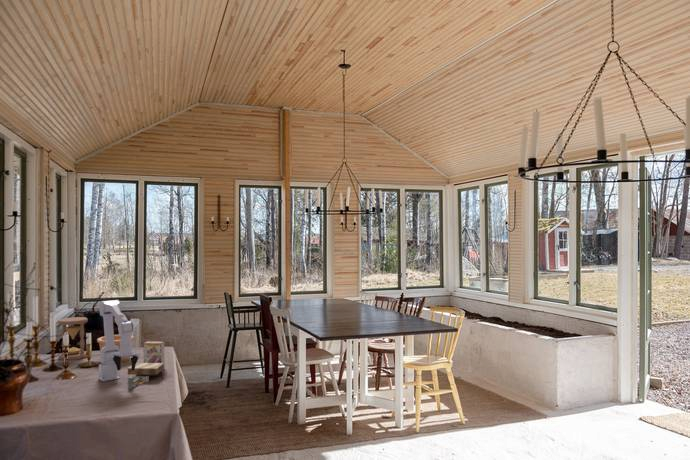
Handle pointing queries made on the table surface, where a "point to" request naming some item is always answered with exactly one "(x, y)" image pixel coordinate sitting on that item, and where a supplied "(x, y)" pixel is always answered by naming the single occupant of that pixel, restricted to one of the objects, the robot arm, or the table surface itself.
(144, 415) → the table surface
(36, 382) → the table surface
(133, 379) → the grey t-shaped piece
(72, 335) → the hourglass
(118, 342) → the pottery
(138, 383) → the brass disc
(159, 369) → the tan cardboard box
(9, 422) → the table surface
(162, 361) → the candy bar box
